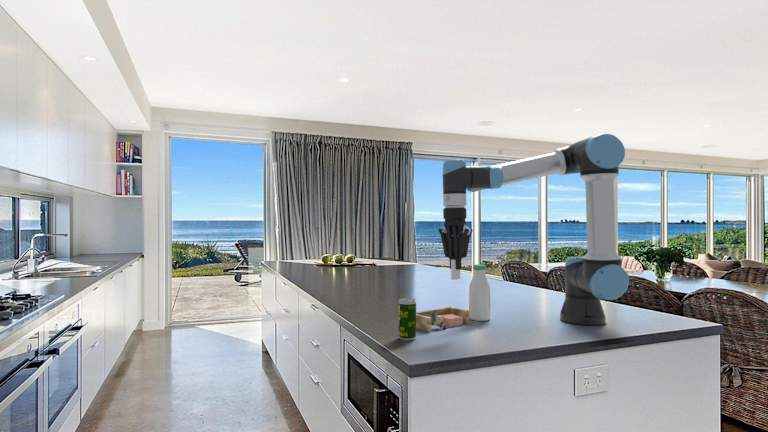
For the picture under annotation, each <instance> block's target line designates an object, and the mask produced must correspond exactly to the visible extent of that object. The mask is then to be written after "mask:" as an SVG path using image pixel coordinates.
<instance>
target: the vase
mask: <svg viewBox="0 0 768 432" xmlns="http://www.w3.org/2000/svg"><path fill="white" fill-rule="evenodd" d="M430 315H431V317H432V319H433V323H432V324H434V325H435V326H436V327H439V331H443V329H448V328H449V327H448V326H446V325H445V324H443V323H444V322H443V318H442V317H441V316H440V315H438V314H437V313H436V312H435V311H432V312H431V313H430Z"/></svg>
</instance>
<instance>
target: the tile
mask: <svg viewBox="0 0 768 432" xmlns="http://www.w3.org/2000/svg"><path fill="white" fill-rule="evenodd" d="M440 316H441V317H442V318H443V322H444V323H443V324H445V325H446V326H447V327H448V328H452V327H459V326H464V323H463V317H460V316H457V315H454V314H448V315H440Z"/></svg>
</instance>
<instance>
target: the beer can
mask: <svg viewBox="0 0 768 432" xmlns="http://www.w3.org/2000/svg"><path fill="white" fill-rule="evenodd" d="M416 312H417V301H416V298H412V297H411V298H410V297H406V298H405V297H403V298H399V302H398V338H399V340H401V341H405V342H406V341H408V342H409V341H414V340H415V341H416V338H417V329H416Z"/></svg>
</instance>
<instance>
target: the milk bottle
mask: <svg viewBox="0 0 768 432" xmlns="http://www.w3.org/2000/svg"><path fill="white" fill-rule="evenodd" d="M472 268H473V269H472V270H473V274H472V277H471V280H470V283H469V289H468V310H469V311H470V321H477V322H488V321H490V320H491V287H490V283H489V281H488V278H487V274H486V271H487V264H479V263H478V264H476V263H475V264H473V266H472Z"/></svg>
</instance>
